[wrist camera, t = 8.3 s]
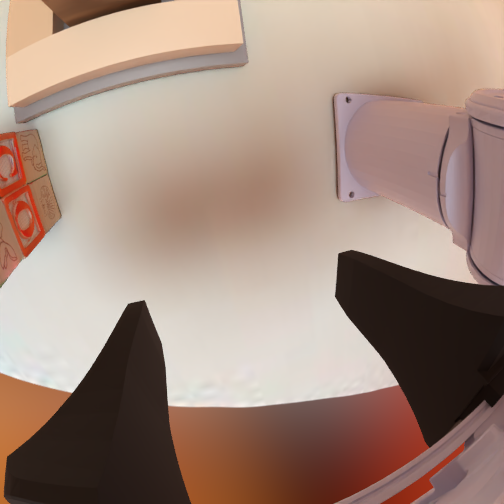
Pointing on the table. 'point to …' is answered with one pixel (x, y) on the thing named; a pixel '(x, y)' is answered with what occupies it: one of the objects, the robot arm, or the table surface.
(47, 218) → the stack of blocks
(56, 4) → the walnut block
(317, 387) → the table surface
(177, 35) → the puzzle board
